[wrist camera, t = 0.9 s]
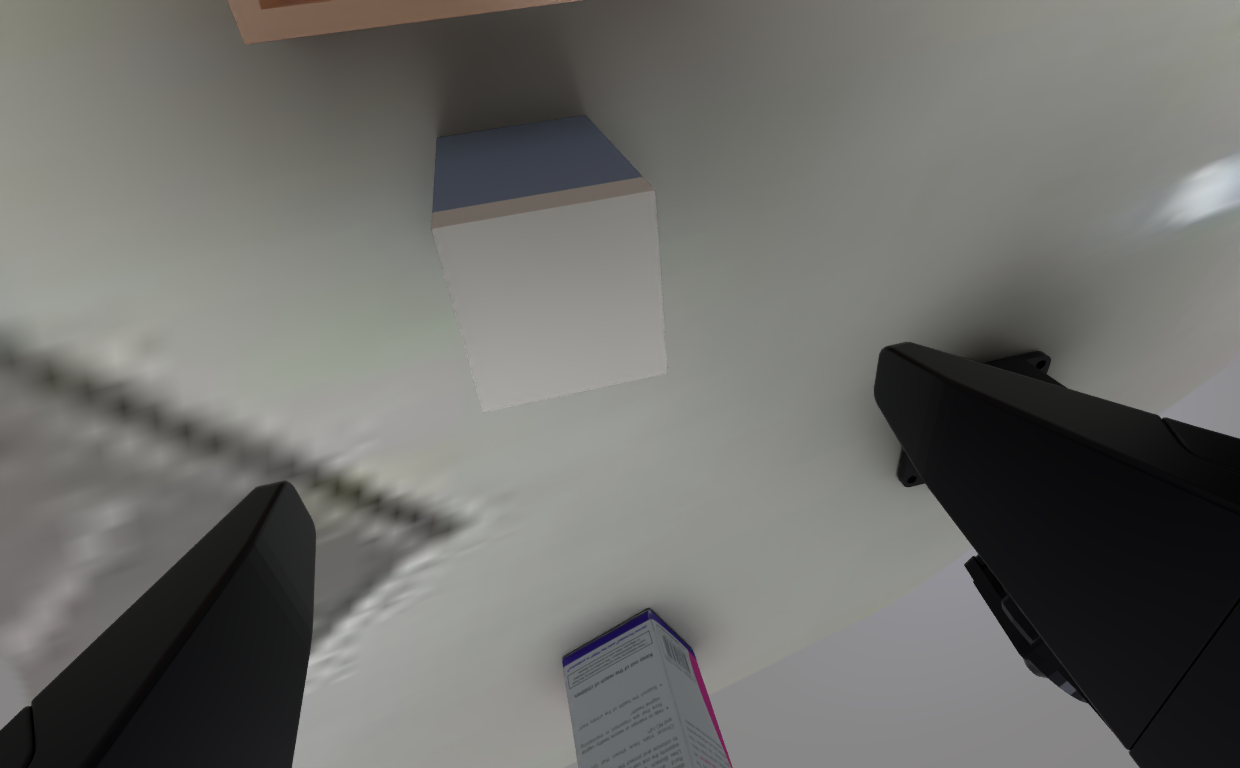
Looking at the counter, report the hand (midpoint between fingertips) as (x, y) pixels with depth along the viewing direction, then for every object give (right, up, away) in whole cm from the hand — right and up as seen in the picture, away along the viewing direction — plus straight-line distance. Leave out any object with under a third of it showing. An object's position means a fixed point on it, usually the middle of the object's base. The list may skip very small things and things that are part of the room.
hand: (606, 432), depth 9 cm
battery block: (-3, +7, +11) cm, 13 cm away
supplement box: (+1, -14, +26) cm, 30 cm away
